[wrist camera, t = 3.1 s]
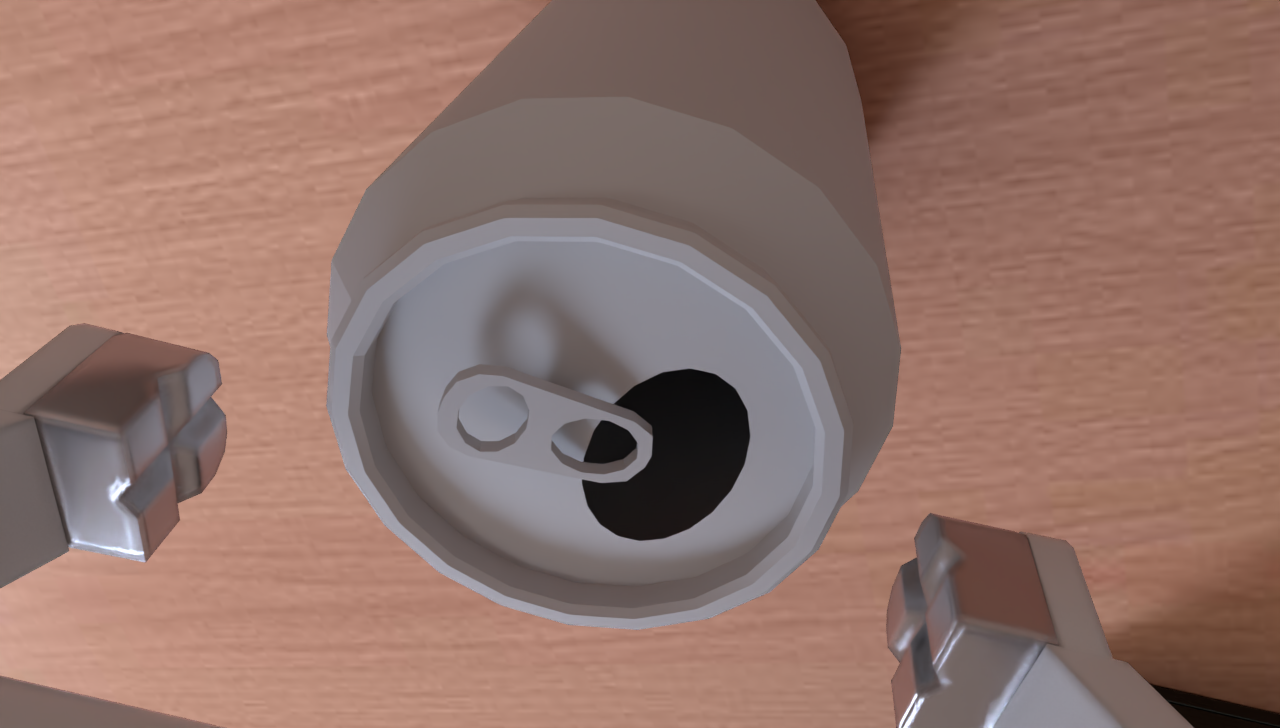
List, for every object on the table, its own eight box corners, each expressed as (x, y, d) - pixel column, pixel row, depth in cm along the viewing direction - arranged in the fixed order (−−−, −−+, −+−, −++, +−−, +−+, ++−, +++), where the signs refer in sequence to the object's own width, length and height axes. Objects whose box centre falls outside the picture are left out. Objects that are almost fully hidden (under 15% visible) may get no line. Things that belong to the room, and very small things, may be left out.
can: (759, 315, 23) (725, 743, 13) (479, 187, 22) (220, 542, 12) (929, 34, 19) (1068, 355, 9) (592, -136, 18) (336, 11, 8)
